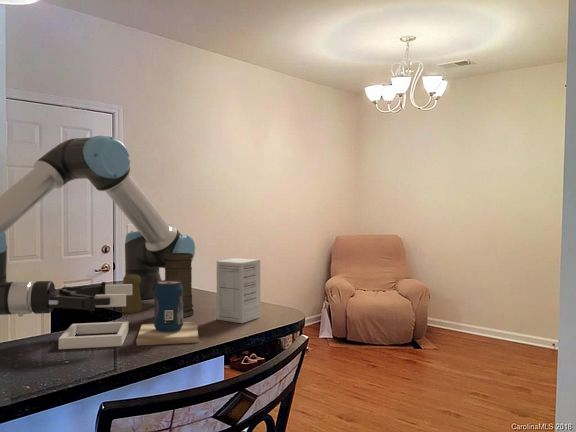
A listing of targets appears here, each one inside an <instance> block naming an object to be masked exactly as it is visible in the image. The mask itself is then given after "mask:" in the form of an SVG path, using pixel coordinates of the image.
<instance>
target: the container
mask: <svg viewBox="0 0 576 432" xmlns="http://www.w3.org/2000/svg"><path fill="white" fill-rule="evenodd" d="M164 258H165V259H166V260H165V268H164V280H179V281H181V285H182V287H183V318H188V317H191V316H193V315H194V311H195V310H194V309H193V307H194V305H193V295H192V287H193V286H192V278H193V277H192V276H193V275H192V269H193V267H192V262H193V260H191V258H193V254H191V253H168V254H164ZM193 259H194V258H193Z"/></svg>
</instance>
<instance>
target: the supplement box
mask: <svg viewBox="0 0 576 432" xmlns="http://www.w3.org/2000/svg"><path fill="white" fill-rule="evenodd" d="M261 307H262V306H261V259H252V258H251V259H250V258H240V257H239V258H237V257H235V258H227V259H223V260H222V259H221V260H216V320H218V321H225V322H231V323H237V324H238V323H239V324H245V323H247V322H251V321H253V320H256V319H259V318H261V314H262V313H261V310H262V309H261Z"/></svg>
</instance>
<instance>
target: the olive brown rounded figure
mask: <svg viewBox="0 0 576 432" xmlns="http://www.w3.org/2000/svg"><path fill="white" fill-rule="evenodd" d="M122 283H124V284H132V295H126V306H121V312H122V313H127V314H128V313H129V314H130V313H131V314H132V313H139V312H142V311H143V305H142V304H143V303H142V299H141V296H140V289H139V284H140V283H141V277H140V276H139V275H136V274H130V275H126V276H125V275H124V277H123V278H122Z"/></svg>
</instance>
